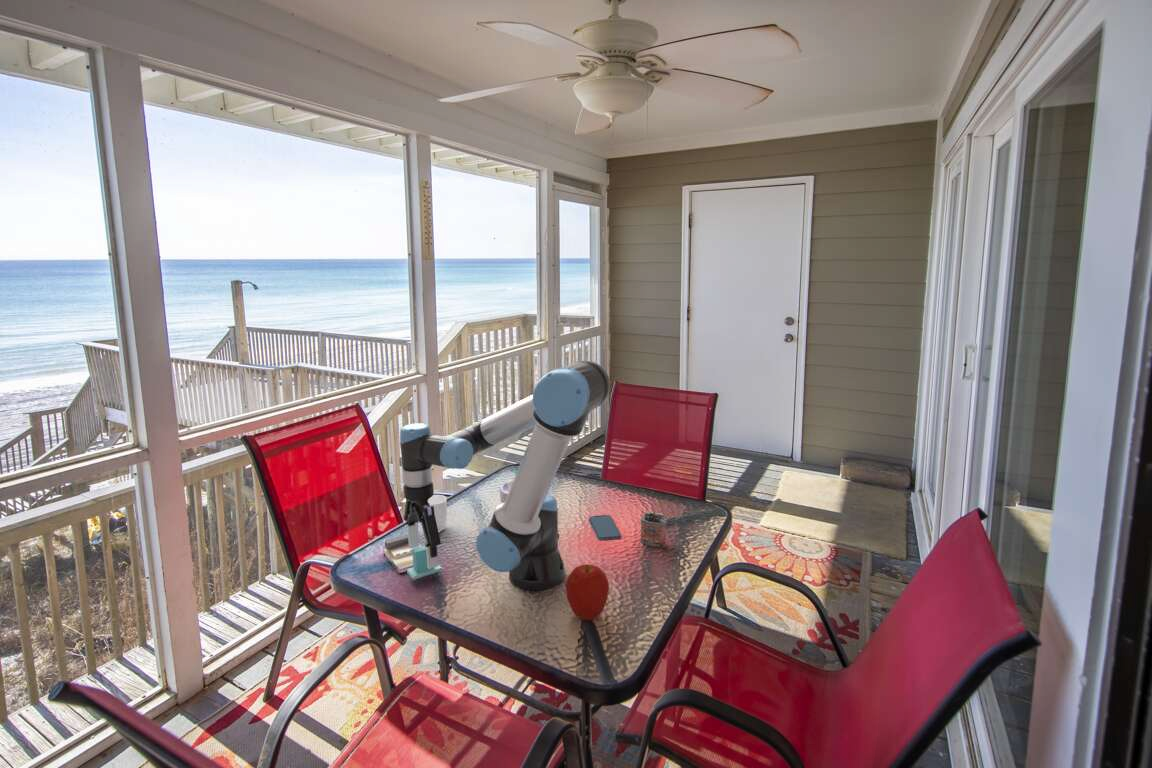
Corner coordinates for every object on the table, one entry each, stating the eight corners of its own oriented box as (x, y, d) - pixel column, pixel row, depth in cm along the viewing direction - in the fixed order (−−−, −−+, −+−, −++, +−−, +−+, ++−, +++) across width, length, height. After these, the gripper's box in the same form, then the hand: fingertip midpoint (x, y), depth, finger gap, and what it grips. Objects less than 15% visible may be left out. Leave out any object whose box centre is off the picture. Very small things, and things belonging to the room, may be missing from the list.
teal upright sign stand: (441, 570, 160) (440, 547, 158) (413, 579, 155) (411, 556, 154) (434, 562, 164) (433, 540, 162) (406, 571, 159) (404, 548, 158)
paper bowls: (494, 503, 208) (493, 481, 207) (534, 495, 215) (534, 475, 213) (508, 519, 195) (507, 497, 193) (550, 511, 201) (550, 489, 200)
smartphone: (598, 538, 180) (588, 516, 194) (598, 543, 180) (588, 520, 194) (622, 535, 181) (610, 514, 195) (622, 540, 181) (610, 518, 196)
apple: (607, 603, 147) (607, 552, 144) (610, 627, 137) (610, 573, 134) (565, 604, 146) (564, 553, 144) (566, 629, 137) (565, 574, 134)
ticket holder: (434, 563, 167) (433, 549, 166) (399, 574, 161) (398, 560, 160) (416, 544, 178) (415, 531, 177) (383, 554, 173) (382, 540, 172)
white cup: (433, 536, 183) (432, 506, 181) (417, 529, 188) (415, 500, 186) (453, 527, 190) (451, 498, 188) (437, 521, 194) (435, 492, 192)
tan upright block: (638, 542, 178) (638, 512, 176) (642, 538, 181) (642, 507, 179) (663, 548, 174) (664, 517, 172) (667, 543, 177) (668, 512, 175)
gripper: (451, 493, 146) (455, 571, 151) (414, 466, 166) (419, 535, 171) (422, 501, 142) (427, 580, 146) (388, 472, 162) (394, 543, 166)
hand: (423, 556), depth 159 cm, fingers open, 13 cm apart
